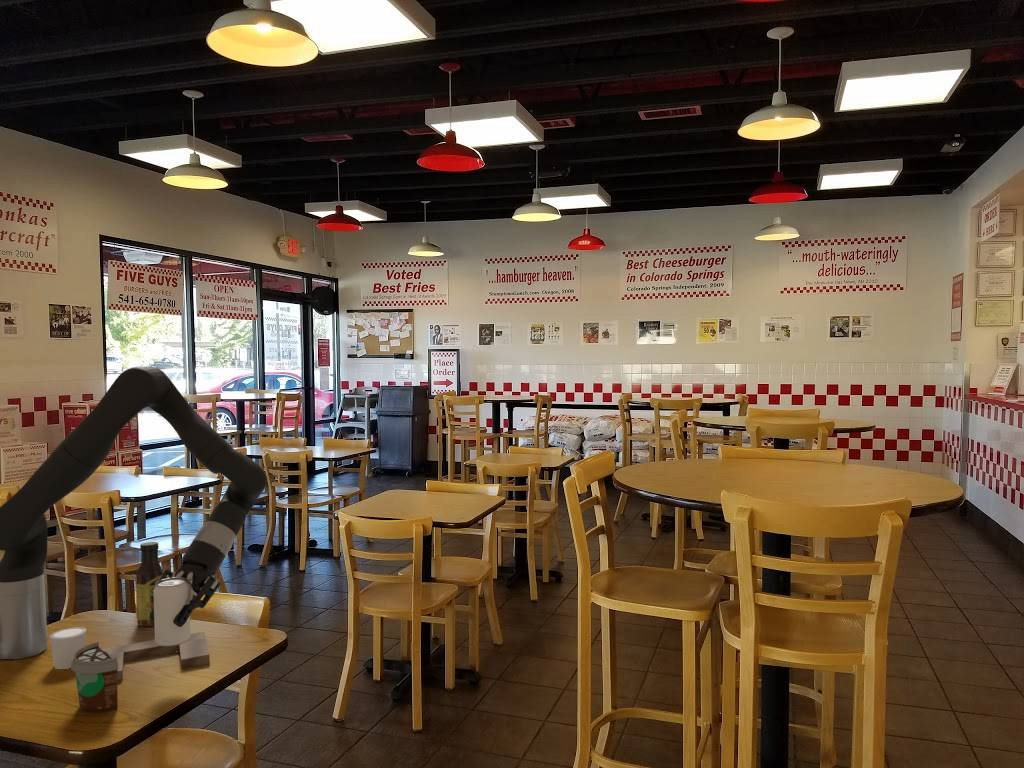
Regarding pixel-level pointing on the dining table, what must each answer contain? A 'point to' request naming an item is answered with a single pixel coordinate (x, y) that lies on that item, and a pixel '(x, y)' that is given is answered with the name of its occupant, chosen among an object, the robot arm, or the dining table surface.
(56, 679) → the dining table surface
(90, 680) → the food container
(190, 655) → the notched board
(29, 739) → the dining table surface
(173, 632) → the can
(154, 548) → the sauce bottle
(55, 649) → the white short cylinder
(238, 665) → the dining table surface
